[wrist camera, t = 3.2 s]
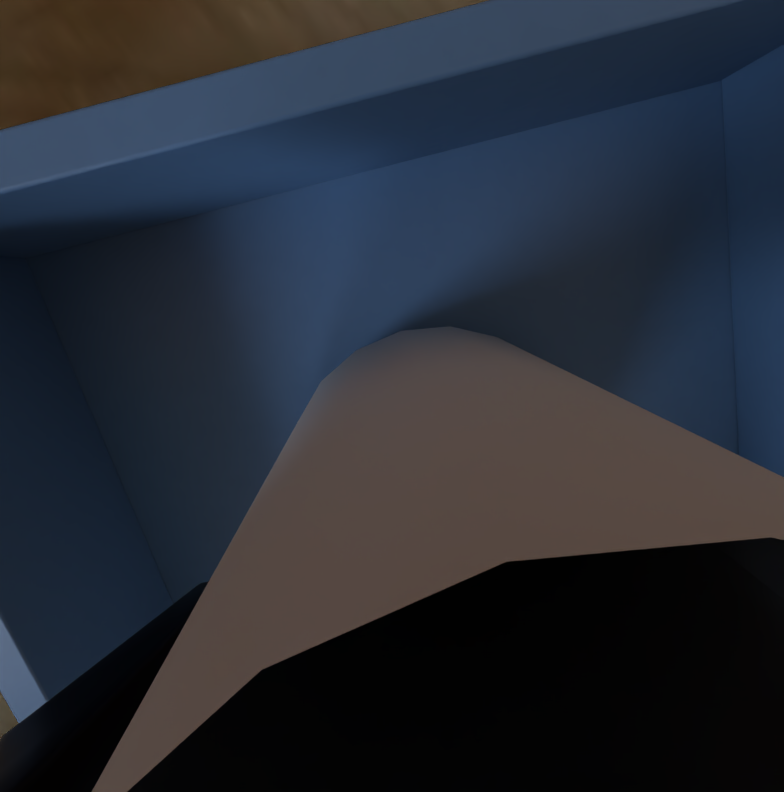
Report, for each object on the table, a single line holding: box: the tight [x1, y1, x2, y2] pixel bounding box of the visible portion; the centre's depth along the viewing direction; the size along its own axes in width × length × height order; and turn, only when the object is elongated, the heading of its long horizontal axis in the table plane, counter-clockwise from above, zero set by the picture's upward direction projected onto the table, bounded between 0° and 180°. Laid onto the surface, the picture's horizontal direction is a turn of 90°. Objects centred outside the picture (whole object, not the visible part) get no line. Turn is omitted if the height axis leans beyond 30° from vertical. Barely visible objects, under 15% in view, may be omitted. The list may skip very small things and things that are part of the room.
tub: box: [0, 0, 784, 723], centre depth 11 cm, size 19×17×5 cm
